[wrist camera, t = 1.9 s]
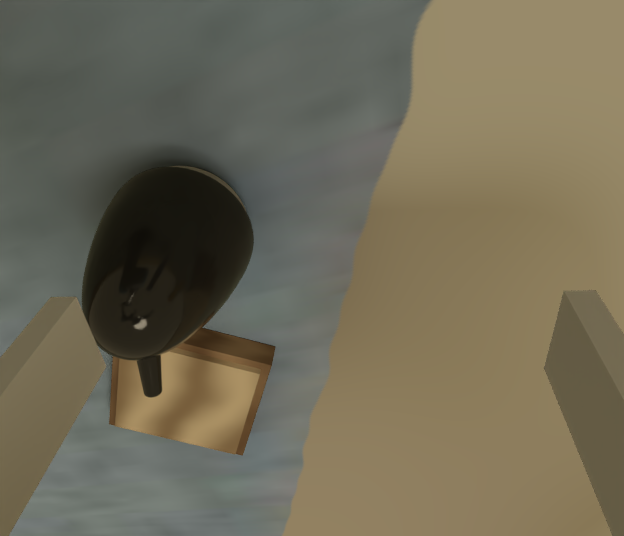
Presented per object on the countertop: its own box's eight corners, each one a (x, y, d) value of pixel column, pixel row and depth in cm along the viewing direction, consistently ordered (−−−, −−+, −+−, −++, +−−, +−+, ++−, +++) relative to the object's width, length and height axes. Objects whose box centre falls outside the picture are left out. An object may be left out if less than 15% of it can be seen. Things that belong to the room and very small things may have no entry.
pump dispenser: (152, 267, 42) (65, 411, 30) (114, 150, 37) (-15, 268, 24) (271, 263, 41) (231, 412, 29) (250, 141, 35) (190, 261, 23)
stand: (118, 405, 53) (106, 428, 51) (125, 308, 45) (111, 330, 43) (247, 436, 54) (241, 460, 52) (275, 346, 46) (270, 370, 44)
